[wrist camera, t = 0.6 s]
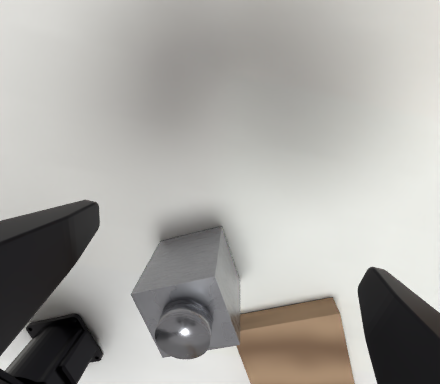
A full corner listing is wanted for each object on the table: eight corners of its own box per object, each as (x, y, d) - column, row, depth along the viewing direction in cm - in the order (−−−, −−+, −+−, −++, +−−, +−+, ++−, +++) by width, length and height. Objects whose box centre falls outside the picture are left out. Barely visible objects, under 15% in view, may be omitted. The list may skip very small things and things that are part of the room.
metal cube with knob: (182, 292, 26) (156, 377, 18) (160, 241, 24) (121, 311, 16) (240, 280, 25) (240, 365, 17) (221, 226, 23) (212, 292, 15)
